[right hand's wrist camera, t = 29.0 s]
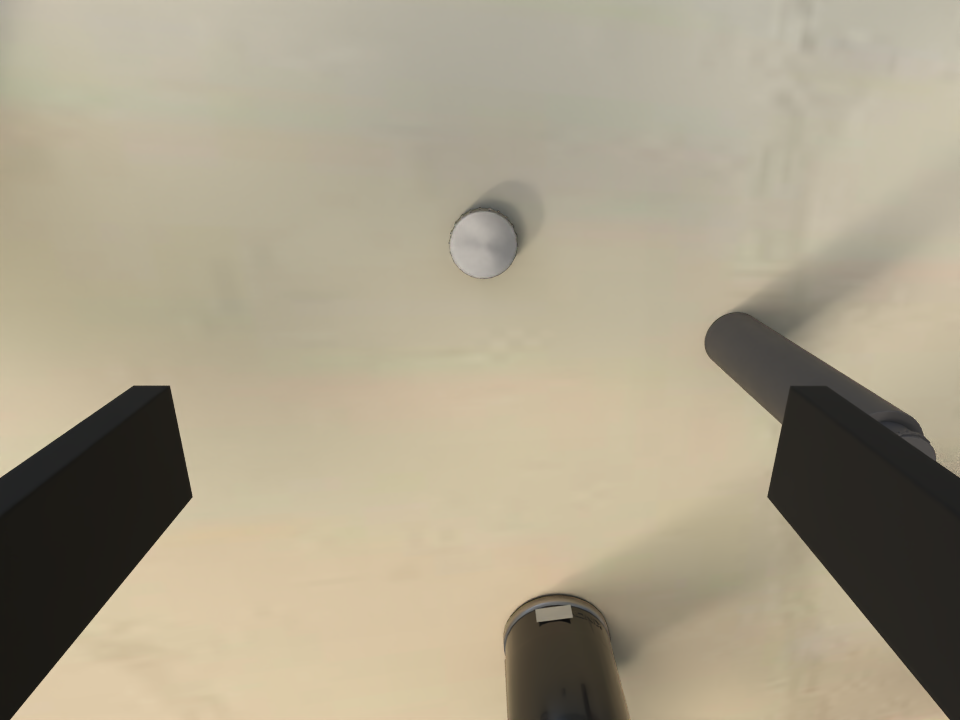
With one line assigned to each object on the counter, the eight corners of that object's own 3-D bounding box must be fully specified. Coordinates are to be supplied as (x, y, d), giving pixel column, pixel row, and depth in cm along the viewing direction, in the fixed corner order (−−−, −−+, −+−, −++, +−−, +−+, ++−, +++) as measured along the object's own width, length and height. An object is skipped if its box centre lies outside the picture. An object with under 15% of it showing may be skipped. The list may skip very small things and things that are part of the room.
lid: (436, 243, 40) (434, 247, 38) (482, 192, 38) (482, 194, 37) (484, 287, 41) (484, 293, 39) (530, 239, 40) (532, 243, 38)
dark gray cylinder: (765, 356, 42) (951, 493, 26) (709, 372, 43) (857, 517, 26) (757, 305, 41) (947, 414, 24) (699, 322, 42) (848, 441, 25)
